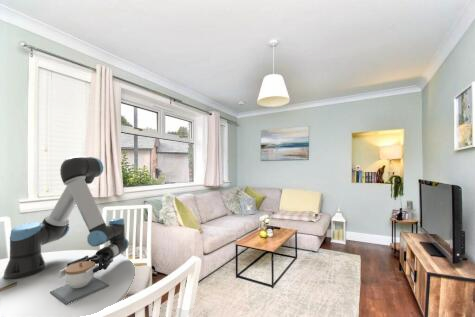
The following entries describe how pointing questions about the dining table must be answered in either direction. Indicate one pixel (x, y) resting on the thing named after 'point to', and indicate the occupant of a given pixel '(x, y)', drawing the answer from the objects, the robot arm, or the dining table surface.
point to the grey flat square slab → (78, 291)
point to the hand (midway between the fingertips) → (73, 274)
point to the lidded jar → (78, 274)
